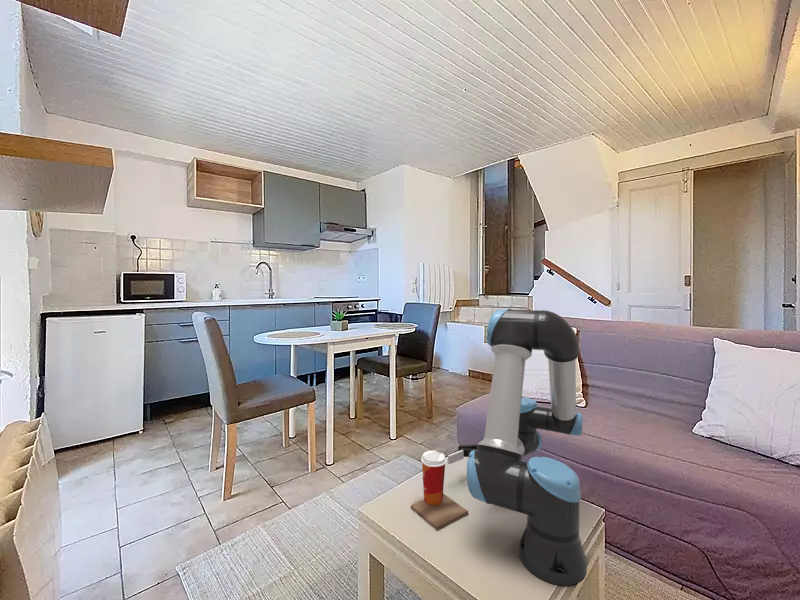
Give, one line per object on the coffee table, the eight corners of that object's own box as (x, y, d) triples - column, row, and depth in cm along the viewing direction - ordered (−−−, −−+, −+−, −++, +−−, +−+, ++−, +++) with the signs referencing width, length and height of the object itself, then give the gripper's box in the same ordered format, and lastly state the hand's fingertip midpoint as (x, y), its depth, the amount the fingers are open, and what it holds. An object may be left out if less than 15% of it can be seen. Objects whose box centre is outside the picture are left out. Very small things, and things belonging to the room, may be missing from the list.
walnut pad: (468, 514, 105) (468, 511, 105) (437, 530, 98) (437, 527, 98) (441, 494, 115) (441, 491, 115) (410, 508, 108) (410, 505, 108)
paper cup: (429, 489, 116) (429, 447, 115) (450, 498, 111) (450, 454, 110) (415, 501, 109) (415, 457, 108) (437, 511, 105) (438, 465, 104)
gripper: (539, 477, 114) (495, 500, 101) (480, 446, 134) (436, 463, 122) (540, 454, 113) (495, 475, 101) (480, 427, 134) (437, 442, 121)
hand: (463, 468), depth 111 cm, fingers open, 13 cm apart
